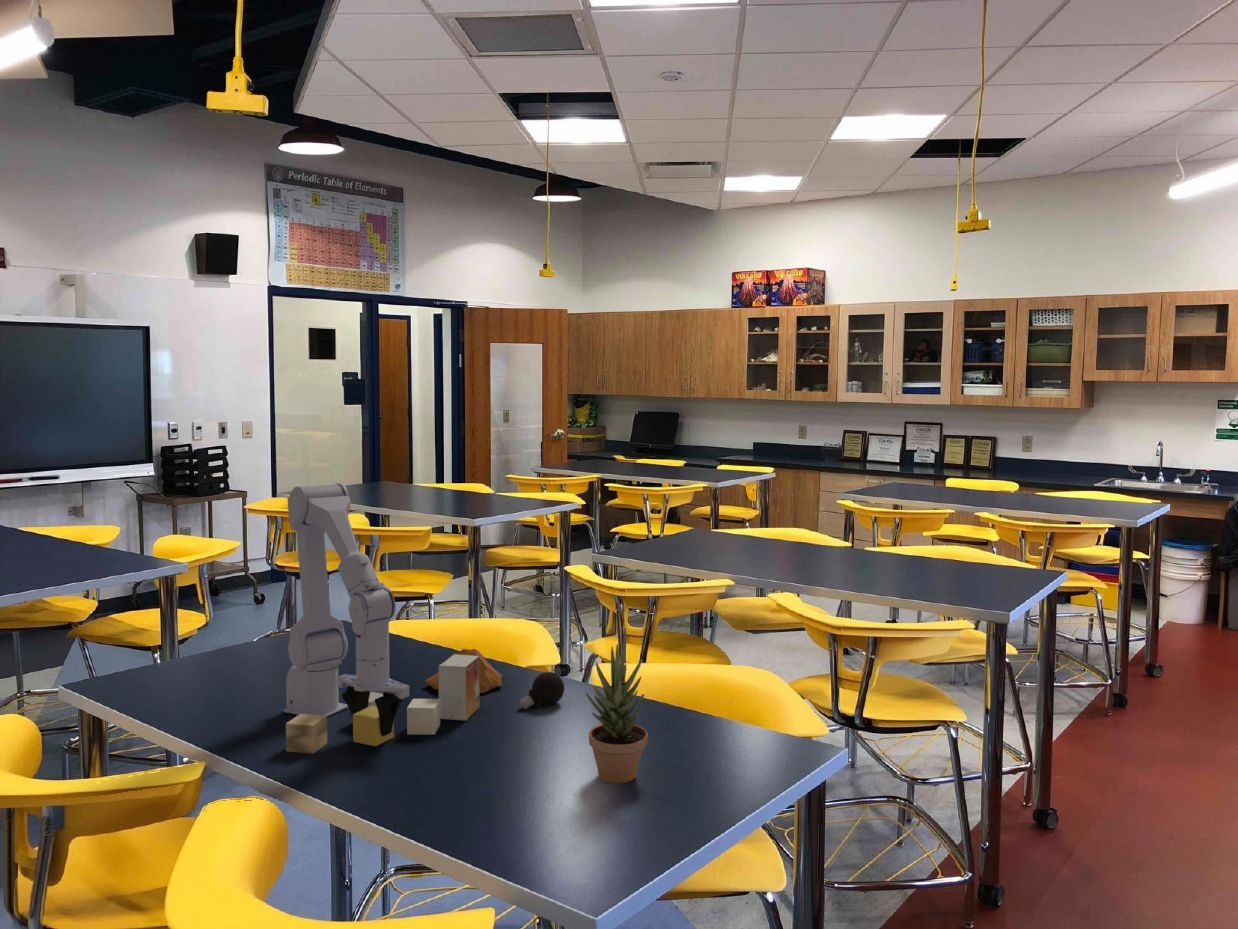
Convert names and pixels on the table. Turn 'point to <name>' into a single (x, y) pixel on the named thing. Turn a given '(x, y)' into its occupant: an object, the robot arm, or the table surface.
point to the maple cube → (306, 733)
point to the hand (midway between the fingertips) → (373, 731)
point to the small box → (459, 687)
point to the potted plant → (617, 724)
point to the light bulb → (544, 690)
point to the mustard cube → (369, 727)
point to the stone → (487, 673)
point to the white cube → (423, 716)
